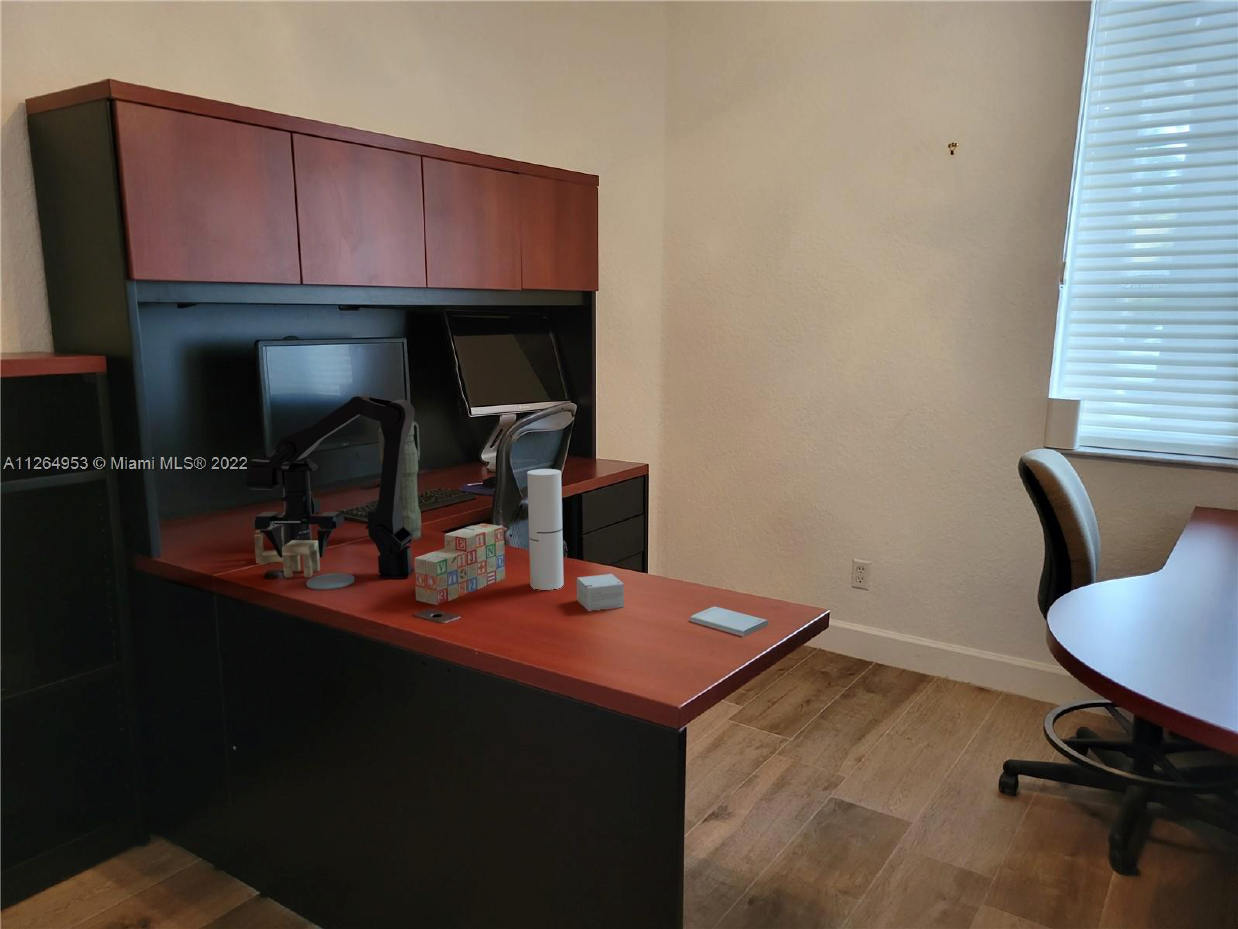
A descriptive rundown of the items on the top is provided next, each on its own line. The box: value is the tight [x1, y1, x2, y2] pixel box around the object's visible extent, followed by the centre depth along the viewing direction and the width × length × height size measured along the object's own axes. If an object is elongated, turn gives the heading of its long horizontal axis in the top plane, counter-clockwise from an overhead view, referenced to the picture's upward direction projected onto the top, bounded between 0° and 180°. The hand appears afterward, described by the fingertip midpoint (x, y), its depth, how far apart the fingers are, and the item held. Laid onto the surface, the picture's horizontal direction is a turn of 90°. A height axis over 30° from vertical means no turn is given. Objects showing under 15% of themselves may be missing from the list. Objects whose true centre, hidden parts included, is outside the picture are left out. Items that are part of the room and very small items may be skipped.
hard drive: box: [689, 606, 769, 637], centre depth 168 cm, size 2×8×12 cm
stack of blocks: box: [414, 523, 506, 606], centre depth 189 cm, size 21×6×12 cm, turn 147°
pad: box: [306, 572, 355, 591], centre depth 195 cm, size 10×10×1 cm
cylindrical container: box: [526, 468, 564, 591], centre depth 190 cm, size 7×7×25 cm
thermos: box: [377, 420, 422, 541], centre depth 231 cm, size 9×12×35 cm
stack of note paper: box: [576, 573, 625, 612], centre depth 179 cm, size 8×8×5 cm
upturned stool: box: [253, 529, 284, 565], centre depth 213 cm, size 6×6×7 cm
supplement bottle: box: [281, 511, 313, 546], centre depth 224 cm, size 7×7×12 cm
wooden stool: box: [282, 539, 321, 578], centre depth 202 cm, size 6×6×7 cm
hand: (301, 557), depth 202 cm, fingers open, 9 cm apart
